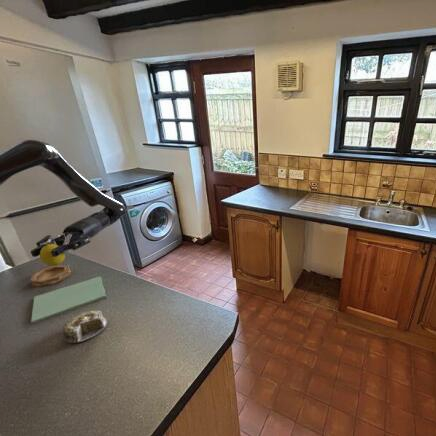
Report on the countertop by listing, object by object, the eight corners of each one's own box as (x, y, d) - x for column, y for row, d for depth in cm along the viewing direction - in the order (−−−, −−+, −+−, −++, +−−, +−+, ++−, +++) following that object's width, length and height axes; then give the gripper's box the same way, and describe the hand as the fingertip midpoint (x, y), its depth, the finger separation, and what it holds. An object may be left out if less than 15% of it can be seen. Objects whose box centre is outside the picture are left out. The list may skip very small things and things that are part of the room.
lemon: (52, 272, 75) (42, 250, 72) (41, 268, 77) (31, 246, 74) (72, 263, 80) (63, 242, 77) (61, 259, 82) (52, 238, 79)
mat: (32, 323, 72) (31, 321, 71) (35, 298, 81) (34, 296, 81) (106, 297, 83) (105, 295, 83) (101, 277, 92) (100, 276, 92)
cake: (56, 339, 68) (48, 324, 66) (94, 314, 76) (88, 300, 75) (78, 349, 64) (70, 333, 62) (115, 322, 73) (110, 307, 71)
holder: (30, 290, 85) (28, 286, 84) (32, 276, 92) (30, 271, 92) (71, 278, 92) (69, 274, 91) (70, 265, 99) (68, 261, 98)
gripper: (60, 220, 87) (12, 243, 72) (101, 220, 88) (63, 243, 73) (67, 238, 90) (23, 264, 75) (107, 238, 91) (71, 264, 76)
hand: (43, 254), depth 74 cm, fingers closed on lemon, 5 cm apart
